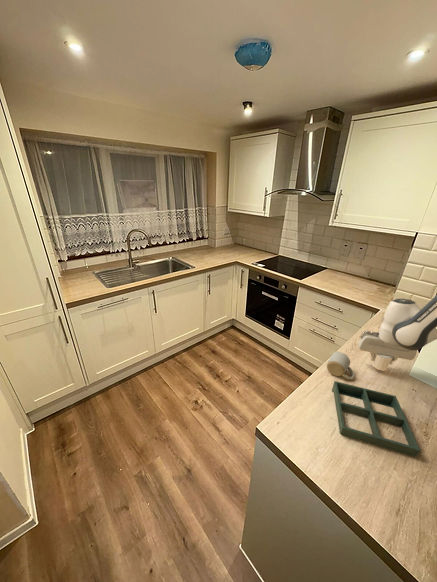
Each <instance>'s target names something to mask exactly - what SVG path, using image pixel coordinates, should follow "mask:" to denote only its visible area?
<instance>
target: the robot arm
mask: <svg viewBox="0 0 437 582" xmlns="http://www.w3.org/2000/svg"><path fill="white" fill-rule="evenodd" d="M384 313H385V314H384ZM384 313H383V315H384V320H383V322H382V323H381V325H380V328H379V329H378V331H377V332H376V331H370V330H366V331H362V332H361V333H360V336H359V337H360V338H359V340H358V342H357V347H358V349H359V350H360V351H362V352H367V353H370V361H371V362H372V361H374V356H373V355H375V353H377V354H382V355H387V356H392V357H393V359H392V360H391V362H390V364H389V365H392V364H393V362H396V361H397V360H398V359H402V360H406V361H407V360H408V361H413V360H415V358H416V356H417V352H418V350H421V349H422V348H424V347H425V346H427V345H429V344H430V343H432V342H434V341H436V340H437V329H436V327H437V294H436V295H435V296H434V297H433V298H432V299H430V301H429V302H427V304H425V305H424V306H423V307H419V305H418V304H417V302H416V301H414V300H412V299H408V298H396V299H392V300H390V302H389V303H388V304H387V307H386V309H385V311H384Z"/></svg>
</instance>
